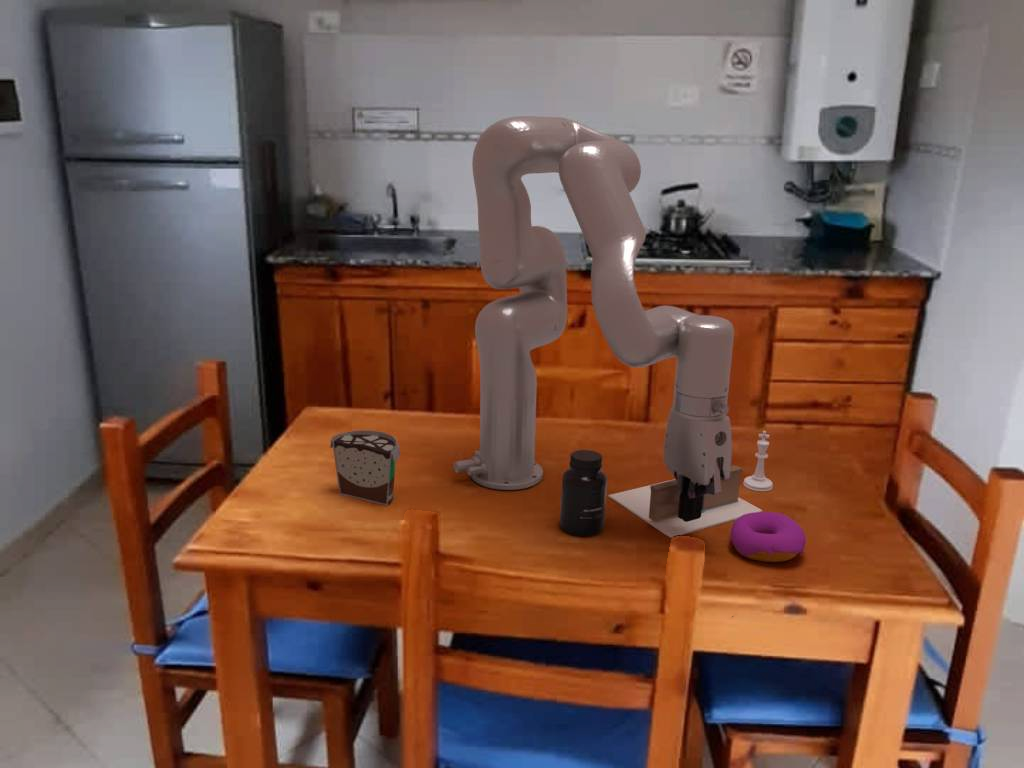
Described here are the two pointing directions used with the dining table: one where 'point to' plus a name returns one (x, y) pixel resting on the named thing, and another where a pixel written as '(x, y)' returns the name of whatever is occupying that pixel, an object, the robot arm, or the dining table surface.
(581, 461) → the supplement bottle
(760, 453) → the chess piece
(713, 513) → the fence base
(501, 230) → the robot arm
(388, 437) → the food container
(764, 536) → the donut
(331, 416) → the dining table surface
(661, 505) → the fence panel
